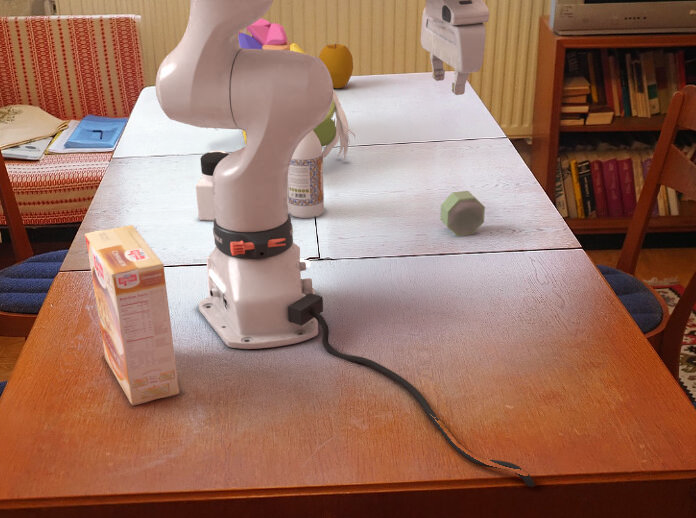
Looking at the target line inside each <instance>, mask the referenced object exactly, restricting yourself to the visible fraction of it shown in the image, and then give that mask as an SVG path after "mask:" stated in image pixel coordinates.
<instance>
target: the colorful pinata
mask: <svg viewBox="0 0 696 518" xmlns="http://www.w3.org/2000/svg"><path fill="white" fill-rule="evenodd" d="M247 32H249V34H247ZM239 45H240V47H241V48H245V49H271V50H291V51H295V52H300V53H304V54H308V55H310V54H309V53H306V52H305V51H304V50H303V49H302V48H301V47H300V46H299V45H298V44H297V43H296V42H293V43H292V42H290V40H288V36H287V33H286V31H285V28H284V26H283V25H281V24H279V23H277V22H273V23H271V22H270V21H268V20H267V19H265V18H263V17H262V18H260V19H259V20H257V21H256V22H254V23H253V24H251V25H249V26H247V27H246V28H243V30H242V32H241V30H240V31H239ZM334 115H335V118H334V119H333V117H334ZM214 130H215V131H218V128H214ZM241 131H242V135H243V136H242V137H243V140H244V144H245V145H246V132H245V131H244V130H241ZM313 131H314V133H315V134H316V135H317V137H318V139H319V141H320V143H321V146H322V148H323V147H324V149H322V152H323V160H324V159H325V158H326V157H328V155H329V154H330V153H331V151H332V150H333V148H334V147H335V146H336V145H337V144H338V142H339V151H338V154H337V155H336V157H340V156H341V155H342V156H343V160H345V159H346V155H347V153H348V149H349V145H350V141H351V140H350V136H349V134H350V135H351V136H353V138H354V139H356V134H355V132H354V131H353V130H352V129H351V128H350V127H349V123H348V119H347V115H346V113H345V111H344V109H343V108H342V106H341V103H340V99H339V97H338V95H337V94H336V92H335V90H334V89H333V100H332V104H331V107H330V110H329V112H328V114H327V116H326V117H325V119H324V120H323V121H322V122H321V123H320V124H319V125H318V126H317V127H316V128H314V129H313Z"/></svg>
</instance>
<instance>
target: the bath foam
mask: <svg viewBox="0 0 696 518" xmlns="http://www.w3.org/2000/svg"><path fill="white" fill-rule="evenodd" d="M324 191H325V190H324V159H323V147H322V146H321V143H320V141H319V139H318V137H317V135H316V134H315V133H314V131H313V130H312V131H310V132H309V133H308V134H307V135H306V136H305V137H304V138H303V139H302V141H301V142H300V143H299V145H298V146H297V148H296V150H295V151H294V154H293V156H292V159H291V162H290V166H289V171H288V214H289V215H290V216H292V217H294V218H298V219H299V218H300V219H309V218H315V217H318V216H320V215H321V214H323V212H324V210H325V201H324V199H325V198H324V197H325V193H324Z"/></svg>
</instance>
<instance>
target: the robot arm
mask: <svg viewBox="0 0 696 518" xmlns="http://www.w3.org/2000/svg"><path fill="white" fill-rule="evenodd" d="M273 2H274V0H189V5H190V6H189V17H188V22H187V26H186V29H185V31H184V34H183V36H182V38H181V39H180V41H179V42H178V44H177V45H176V46H175V48H173V50H171V52H169V53H168V54H167V55H166V56H165V57H164V59H163V60H162V62H161V63H160V65H159V67H158V69H157V73H156V77H155V93H156V94H155V95H156V99H157V102H158V104H159V106H160V108H161V110H162V112H163V113H164V115H165V116H166V117H167V119H169V120H171V121H175V122H178V123H181V124H185V125H188V126H192V127H197V128H203V129H204V128H205V129H215V128H216V129H221V130H222V129H223V130H241V131H242V130H244V131H245V132H246V144H245V146H244V147H242V148H239V149H237V150H235V151H233V152H231V153H230V154H229V155H228V156H226V157H225V158H223V159H222V160H221V161H220V162H219V163H218V164H217V166H216V168H215V170H214V173H213V177H212V182H213V194H214V205H215V216H216V218H215V219H214V221H213V222H212V223H213V227H212V234H213V238H214V239H213V240H214V245H215V247H214V249H213V251H212V252H211V253H210V254H209V255H208V256H207V258H206V271H207V273H206V274H207V290H208V296H207V297H205V298H204V299H202V300H200V301H199V302H198V310H199V312H200V313H201V314H202V315H203V317H204V318H205V319H206V321H207V322H208V324H209V325H210V326H211V327H212V329H213V330H214V331H215V333H216V334H217V335H218V336H219V338H220V339H221V340H222V342H223V343H224V344H225V345H226V346H227V347H229V348H233V349H241V350H242V349H243V350H253V349H254V350H259V349H269V348H277V347H282V346H289V345H293V344H298V343H302V342H305V341H308V340H310V339H313V338H315V337H316V336H318V335H319V325H320V327H321V329H322V335H321V342H322V343H321V344H322V346H323V347H324V349H325V350H326V351H327V352H328V354H330V355H332V356H334V357H336V358H338V359H342V360H344V361H348V362H351V363H355V364H361V365H365V366H367V367H369V368H372V369H374V370H375V371H377V372H379V373H381V374H383V375H385V376H386V377H388V378H390V379H391V380H393V381H395V382H396V383H397V384H399V385H400V386H401V387H402V388H404V389H405V390H406V391H407V392H409V393H410V394H411V395H412V396H413V398H414V399H415V400H416V401H417V402H418V404H419V405H420V407H421V408H422V409H423V411H424V413H425V415H427V418H428V419H429V420H430V421H431V422H432V424H433V425H434V426H435V427H436V429H438V431H439V433H441V435H442V436H443V437H444V438H445V440H446V441H447V442H448V444H449V445H450V446H451V447H452V448H453V449H454V450H455V451H456V452H457V453H458V454H459V455H461V456H462V457H463V458H465V459H467V460H468V461H470V463H471V462H472V463H473V464H476V465H478V466H481V467H487V468H492V469H493V468H494V469H498V468H497V467H493V466H489V465H486V464H484V463H482V462H480V461H478V460H476V459H474V458H473V457H471V456H470V455H468V454H466V453H465V452H464V451H462V450H461V449H460V448H458V447H457V446H456V445H455V444H454V443H453V442H452V441H451V439H450V438H449V437H448V436H447V434H446V433H445V432H444V431H443V429H442V428H441V427H440V425H439V424H438V423H437V422H436V421H435V419H436V420H437V421H438V420H440V421H441V422H442V423H443V421H442V420H441V419H440V418H439V417H438V416H437V414H436V413H435V411H434V410H433V409H432V407H431V405H430V404H429V403H428V401H427V399H426V398H425V397H424V396H423V394H422V393H421V392H420V391H419V390H418V389H417V388H416V387H414V385H413V384H412V383H410V382H409V381H408V380H406V379H405V378H403V377H402V376H400V375H399V374H398V373H396V372H394V371H393V370H391V369H389V368H387V367H385V366H383V364H380V363H378V362H376V361H374V360H372V359H369V358H366V357H363V356H358V355H350V354H345V353H342V352H339V351H338V350H336V349H335V348H334V347H333V346H332V344H331V343H330V341H329V338H330V328H329V324H328V322H327V321H326V319H325V318H324V317H323V315H322V313H323V312H324V297H323V296H321V295H319V294H316V290H315V288H314V287H313V279H312V278H311V277H308V278H302V275H301V274H302V273H301V272H302V271H303V272H304V271H307V268H310V267H311V261H310V260H307V259H303V258H301V247H300V245H298V244H296V243H295V242H294V237H293V235H294V234H293V233H294V231H293V229H294V228H293V223H292V217H291V214H290V213H289V212H288V171H289V166H290V162H291V159H292V156H293V154H294V151H295V150H296V148H297V146H298V145H299V143H300V142H301V141H302V139H303V138H304V137H305V136H306V135H307V134H308V133H309V132H310V131H312V130H313V129H314V128H316V127H317V126H318V125H319V124H320V123H321V122H322V121H323V120H324V119H325V117H326V116H327V114H328V112H329V110H330V107H331V104H332V100H333V90H334V88H333V83H332V78H331V75H330V73H329V71H328V69H327V67H326V65H325V64H324V63H323V61H322V60H321V59H320V58H319V56H314V55H311V54H309V53H306V54H304V53H300V52H295V51H291V50H271V49H245V48H241V47H240V45H239V31H240V32H241V30H244V29H246V28H247V26H249V25H252V24H253V23H254V22H256V21H257V20H259V19H260V18H262V19H263V17H265V15H266V14H267V13H268V12H269V10H270V9H271V7H272V5H273ZM489 19H490V10H489V7H488V5H486V3H485V1H484V0H425V7H424V8H423V12H422V18H421V27H420V28H421V29H420V45H421V47H422V49H423V50H425V51H427V52H428V53H429V59H430V65H431V69H432V73H431V74H432V75H431V76H432V77H431V78H432V79H433V80H435V82H439V81H444V80H445V74H446V70H445V69H444V63H445V64H446V65H448V66H449V67H451V68H452V69H454V75H455V76H454V77H455V78H454V81H453V82H452V83H451V92H452V93H453V94H454V95H456V96H461V95H464V94H465V92H466V91H465V90H466V83H467V81H468V79H469V77H470V74H471V73H477V72H480V70H481V69H482V66H483V63H484V56H485V47H486V33H487V32H486V25H485V23H488V22H489ZM308 54H309V55H308ZM430 414H431V415H432V416H433V417H436V416H437V417H438V418H439V419H438V418H437V417H436V418H435V419H434V418H433V417H432V416H431V415H430ZM445 427H446V428H447V429H448V427H447V426H446V425H445ZM448 431H449V432H450V433H451V431H450V430H449V429H448ZM452 436H453V437H454V438H455V436H454V435H453V434H452ZM458 443H459V444H461V443H460V442H459V441H458ZM464 448H465V449H467V448H466V447H464ZM468 451H469V452H471V451H470V450H468ZM490 461H492V462H494V463H497V464H499V465H502V466H505V467H509V468H513V469H520V470H521V468H522V467H521V466H519V465H517V464H516V463H512V462H509V461H504V460H498V459H490ZM520 467H521V468H520ZM500 469H501V468H499V470H500ZM501 470H502V469H501ZM505 470H506V469H504V471H505ZM506 471H507V470H506ZM515 475H517V476H518V477H520V479H522V480H523V482H524V483H525V485H526V486H528V487H531V488H533V487H535V486H536V484H535V482H534V480H533V478H532V476H530V475H529V473H528V476H523V475H520V474H517V473H515Z"/></svg>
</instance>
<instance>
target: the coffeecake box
mask: <svg viewBox="0 0 696 518" xmlns="http://www.w3.org/2000/svg"><path fill="white" fill-rule="evenodd" d="M84 237H85V243H86V248H87V255H88V261H89V267H90V273H91V279H92V284H93V290H94V291H93V292H94V297H95V302H96V309H97V314H98V315H97V316H98V320H99V326H100V332H101V338H102V345H103V350H104V359H105V360H106V362H107V364H108V366H109V368H110V369H111V371H112V373H113V375H114V377H115V378H116V381H117V382H118V383H119V385H120V387H121V389H122V391H123V392H124V394H125V396H126V397H127V400H128V401H129V403H130V404H131V406H136V405H137V406H138V405H140V404H144V403H149V402H151V401H155V400H158V399H163V398H168V397H172V396H176V395H179V394H180V389H179V380H178V372H177V365H176V355H175V350H174V348H175V347H174V340H173V330H172V323H171V315H170V306H169V299H168V298H169V297H168V291H167V282H166V275H165V266H164V265H165V264H164V263H163V262H162V260H161V259H160V258H159V256H158V255H157V254H156V253H155V251H154V250H153V249H152V247H151V246H150V245H149V243H147V241H146V240H145V239H144V237H142V235H141V234H140V233H139V231H138V230H137V229H136V227H135V226H134V225H132V224H130V225H125V226H119V227H115V228H108V229H99V230H95V231H90V232H86V233H85V234H84Z"/></svg>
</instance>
